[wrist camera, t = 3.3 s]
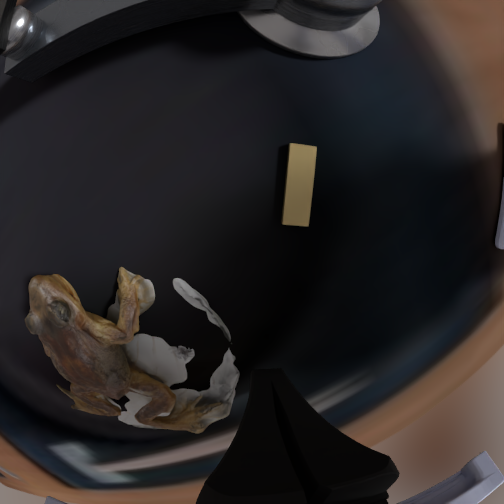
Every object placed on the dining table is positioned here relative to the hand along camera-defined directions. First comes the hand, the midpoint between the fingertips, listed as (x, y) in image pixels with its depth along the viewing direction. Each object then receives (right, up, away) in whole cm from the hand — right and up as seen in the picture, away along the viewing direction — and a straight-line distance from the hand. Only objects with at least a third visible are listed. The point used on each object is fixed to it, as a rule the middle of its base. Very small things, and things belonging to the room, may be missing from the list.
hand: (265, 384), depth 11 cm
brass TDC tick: (+1, +8, -1) cm, 9 cm away
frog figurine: (-7, +1, +1) cm, 7 cm away
